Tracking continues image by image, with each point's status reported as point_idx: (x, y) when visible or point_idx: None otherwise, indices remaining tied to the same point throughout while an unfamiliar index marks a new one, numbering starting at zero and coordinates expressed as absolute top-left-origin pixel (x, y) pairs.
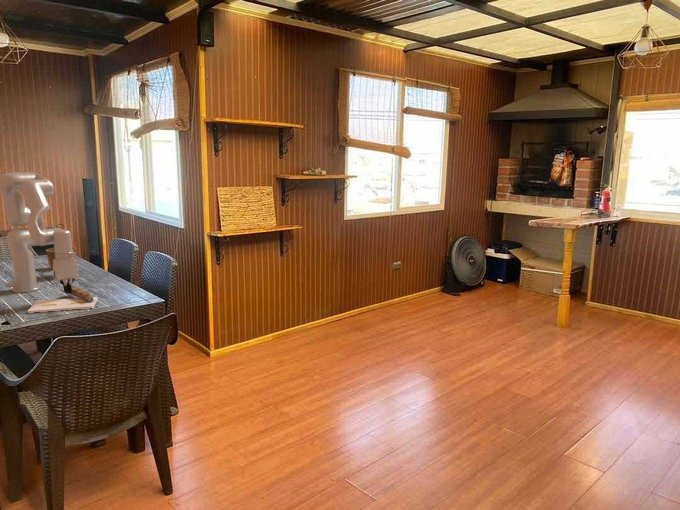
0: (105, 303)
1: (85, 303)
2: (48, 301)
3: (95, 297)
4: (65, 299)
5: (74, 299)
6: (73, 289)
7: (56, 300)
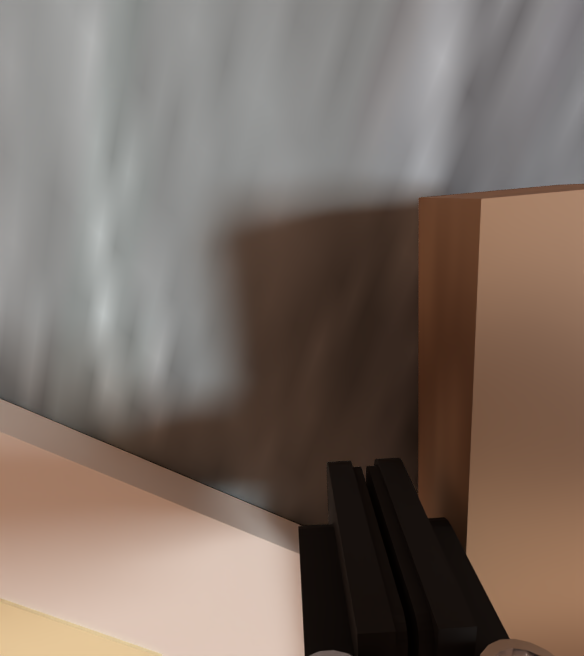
0: None
1: None
2: (18, 523)
3: None
4: (259, 572)
5: None
6: None
7: (135, 541)
